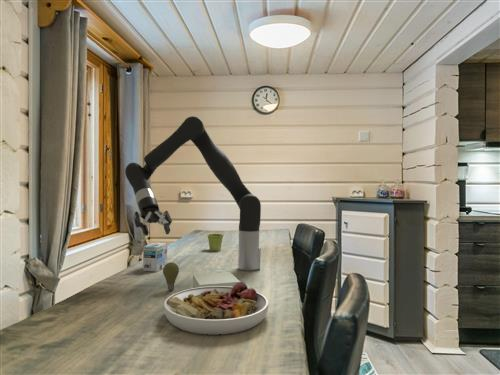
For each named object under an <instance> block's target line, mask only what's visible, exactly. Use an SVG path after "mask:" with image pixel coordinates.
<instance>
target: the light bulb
mask: <svg viewBox="0 0 500 375" xmlns="http://www.w3.org/2000/svg"><path fill="white" fill-rule="evenodd" d="M179 272H180V269H179V266H178V264H176V263H175V262H167V264H166V265H165V266H164V268H163V269H162V274H163V276H164V279H165V281H166V282H165V283H166V284H167V290H168V291H171V292H172V291H174V289H175V283H176V281H177V280H176V279H177V277H178V275H179Z"/></svg>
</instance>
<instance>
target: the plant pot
mask: <svg viewBox="0 0 500 375" xmlns="http://www.w3.org/2000/svg"><path fill="white" fill-rule="evenodd" d="M206 235H207V239H208V244H209V246H208V247H209V251H210V252H219V251H221V249H222V244H223V238H224V233H223V234H222V233H208V234H206Z"/></svg>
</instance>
